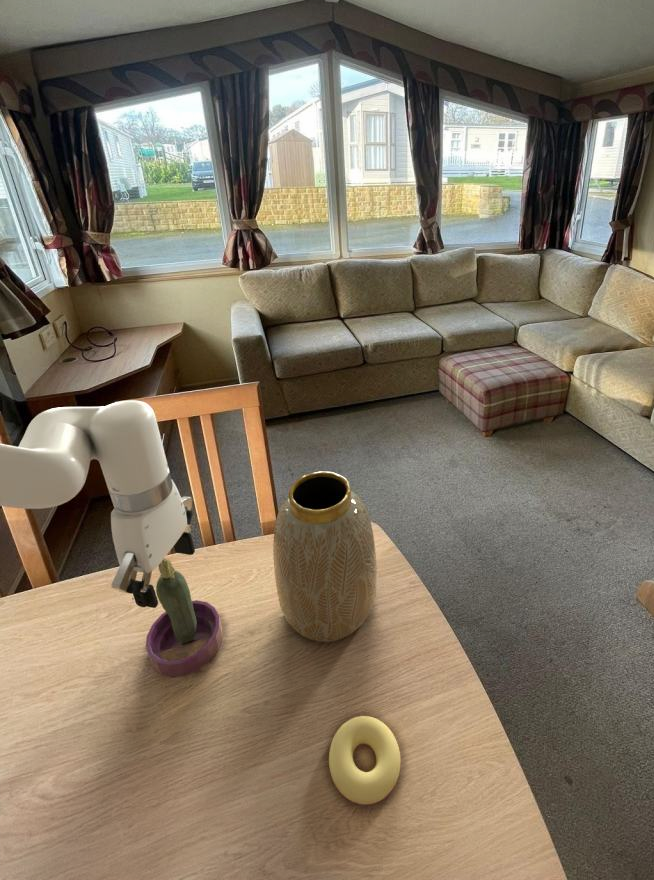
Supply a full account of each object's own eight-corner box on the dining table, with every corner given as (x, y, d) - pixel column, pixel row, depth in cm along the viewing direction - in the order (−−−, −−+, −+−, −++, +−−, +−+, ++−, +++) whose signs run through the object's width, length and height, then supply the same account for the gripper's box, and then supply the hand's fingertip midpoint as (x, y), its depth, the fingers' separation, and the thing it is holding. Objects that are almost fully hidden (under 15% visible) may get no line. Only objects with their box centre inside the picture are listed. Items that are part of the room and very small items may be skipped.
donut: (377, 724, 72) (318, 752, 67) (379, 699, 71) (318, 726, 66) (412, 790, 63) (347, 827, 59) (414, 763, 62) (348, 798, 58)
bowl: (149, 693, 74) (142, 675, 72) (155, 628, 84) (149, 611, 82) (225, 669, 77) (220, 651, 75) (222, 609, 87) (218, 592, 85)
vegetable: (207, 634, 82) (184, 548, 73) (193, 659, 78) (168, 571, 69) (183, 630, 83) (158, 544, 74) (168, 654, 79) (140, 567, 70)
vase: (350, 556, 98) (344, 446, 86) (395, 622, 84) (395, 503, 73) (267, 594, 90) (248, 479, 78) (303, 674, 76) (287, 549, 65)
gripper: (155, 448, 74) (177, 532, 81) (69, 530, 59) (106, 624, 66) (200, 453, 73) (218, 538, 80) (124, 539, 57) (155, 633, 65)
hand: (167, 577), depth 73 cm, fingers open, 9 cm apart
